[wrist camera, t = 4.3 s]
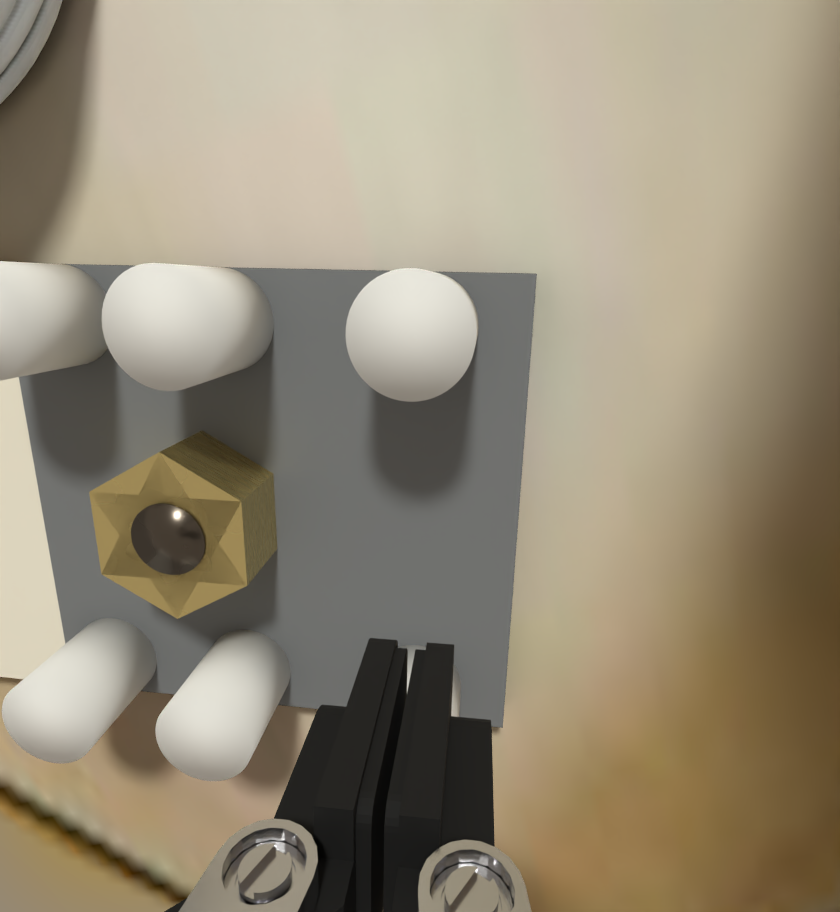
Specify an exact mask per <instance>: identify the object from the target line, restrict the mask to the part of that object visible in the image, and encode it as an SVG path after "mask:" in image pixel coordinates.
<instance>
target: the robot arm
mask: <svg viewBox="0 0 840 912" xmlns="http://www.w3.org/2000/svg"><path fill="white" fill-rule="evenodd" d="M407 662H408V650H407V648H398V641H397V640H391V639H378V638H369V640H368V643H367V646H366V649H365V652H364V655H363V658H362V661H361V664H360V667H359V670H358V673H357V676H356V679H355V682H354V685H353V688H352V691H351V694H350V697H349V700H348V703H347V706H346V707H344V706H333V705H321V706H320V707H319V709H318V711H317V713H316V715H315V718H314V720H313V723H312V725H311V728H310V730H309V733H308V735H307V737H306V740H305V742H304V745H303V747H302V750H301V752H300V755H299V757H298V760H297V762H296V765H295V767H294V770H293V772H292V775H291V777H290V780H289V782H288V785H287V787H286V790H285V792H284V795H283V797H282V800H281V802H280V805H279V807H278V810H277V812H276V815H275V817H274V819H269V820H262V821H258V822H255V823H253V824H251V825H248V826H246V827H244V828H242V829H241V830H239V831H238V832H237V833H235V834H234V835H232V836H231V837H230V838H229V839H228V840H227V841H226V842H225V844H224V845H223V846H222V847H221V848H220V849H219V851H218V852H217V854H216V855H215V857H214V858H213V860H212V861H211V863H210V864H209V866H208V867H207V869H206V871H205V872H204V874H203V875H202V877H201V878H200V880H199V881H198V883H197V884H196V886H195V887H194V889H193V890H192V892H191V894H190V895H189V897H188V898H186V899H185V900H183V901H181V902H180V903H178V904H176V905H175V906H173V907H171V908H170V909H168V910H166V911H165V912H531V908H530V903H529V899H528V895H527V890H526V886H525V884H524V881H523V879H522V876H521V873H520V871H519V870H518V868H517V867H516V866H515V864H514V863H513V862H512V860H511V859H510V858H509V857H508V856H507V855H505V854H504V853H503V852H501V851H500V850H499V849H497V848H496V847H494V810H493V769H492V729H491V720H487V719H476V718H465V717H454V716H451V711H452V688H453V666H454V644H441V643H428V642H427V645H426V650H420V649H416V650H415V654H414V659H413V665H412V670H411V675H410V681H409V686H408V691H407Z"/></svg>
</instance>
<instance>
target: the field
mask: <svg viewBox="0 0 840 912" xmlns="http://www.w3.org/2000/svg"><path fill="white" fill-rule="evenodd" d="M536 276H537V274H524V273H475V272H432V271H428V270H423V269H418V268H401V269H396V270H392V271H376V270H327V269H277V268H228V267H208V266H193V265H179V264H164V263H145V264H140V265H137V266H129V265H80V264H48V263H28V262H8V261H0V677H7V678H17V679H23V680H22V681H21V682H20V683H19V684H17V685H16V686H15V687H14V688H13V689H12V690H10V691H9V692H8V694H7V695H6V697H5V699H4V701H3V705H2V717H3V721H4V724H5V727H6V729H7V731H8V733H9V734H10V736H11V737H12V738H13V740H14V741H15V742H16V743H17V744H18V745H19V746H20V747H21V748H22V749H24V750H25V751H26V752H28V753H29V754H31V755H33V756H35V757H37V758H39V759H41V760H44V761H48V762H52V763H70V762H74V761H77V760H79V759H80V758H82V757H83V756H85V755H86V754H87V753H88V751H89V750H90V749H91V748H92V747H93V746H94V745H95V743H96V742H97V741H98V740H99V739H100V738H101V736H102V735H103V734H104V733H105V732H106V731H107V729H108V728H109V727H110V726H111V725H112V724H113V722H114V721H115V720H116V719H117V718H118V717H119V715H120V714H121V713H122V712H123V711H124V710H125V709H126V707H127V706H128V705H129V704H130V703H131V702H132V700H133V699H134V698H135V697H136V696H137V695H138V693H139V692H140V691H146V692H155V693H165V694H175V695H174V696H173V698H172V699H171V700H170V702H169V703H168V704H167V705H166V707H165V708H164V709H163V711H162V712H161V714H160V715H159V717H158V719H157V723H156V729H155V732H156V739H157V743H158V746H159V748H160V750H161V752H162V753H163V755H164V756H165V757H166V759H167V760H168V761H169V762H170V763H171V764H172V765H173V766H174V767H176V768H177V769H178V770H180V771H181V772H183V773H185V774H187V775H189V776H191V777H194V778H197V779H200V780H206V781H222V780H227V779H230V778H232V777H234V776H236V775H238V774H239V773H241V772H242V771H243V770H244V769H245V767H246V766H247V765H248V763H249V761H250V759H251V757H252V755H253V753H254V751H255V749H256V747H257V745H258V743H259V741H260V739H261V737H262V735H263V733H264V731H265V729H266V727H267V725H268V723H269V721H270V719H271V717H272V715H273V713H274V711H275V709H276V708H277V706H278V705H284V706H294V707H304V708H314V709H319V707H320V706H321V705H333V706H344V707H346V706H347V703H348V700H349V697H350V694H351V691H352V688H353V685H354V682H355V679H356V676H357V673H358V670H359V667H360V664H361V661H362V658H363V655H364V652H365V649H366V646H367V643H368V640H369V638H378V639H391V640H397V641H398V648H407V650H408V662H407V691H408V686H409V681H410V675H411V670H412V665H413V659H414V654H415V650H416V649H420V650H426V645H427V642H428V643H441V644H454V666H453V688H452V711H451V716H454V717H465V718H476V719H487V720H491V726H492V727H501V728H503V716H504V702H505V689H506V676H507V662H508V649H509V636H510V622H511V609H512V596H513V582H514V569H515V556H516V542H517V529H518V516H519V503H520V489H521V476H522V463H523V449H524V436H525V423H526V409H527V396H528V383H529V369H530V356H531V343H532V329H533V316H534V303H535V289H536ZM200 431H204V432H206V433H207V434H209V435H211V436H212V437H214V438H216V439H217V440H219V441H221V442H222V443H224V444H226V445H227V446H229V447H230V448H232V449H234V450H235V451H237V452H239V453H240V454H242V455H244V456H245V457H247V458H249V459H250V460H252V461H254V462H255V463H257V464H258V465H260V466H262V467H263V468H265V469H267V470H268V471H270V472H272V473H273V474H274V493H275V512H276V531H277V550H276V551H275V552H274V553H273V555H272V556H271V557H270V558H269V559H268V561H267V562H266V563H265V564H264V566H263V567H262V568H261V569H260V571H259V572H258V573H257V574H256V576H255V577H254V578H253V579H252V581H251V582H250V583H249V584H248V585H247V586H246V587H244V588H242V589H239V590H237V591H235V592H233V593H231V594H229V595H227V596H225V597H223V598H220V599H218V600H216V601H214V602H212V603H210V604H208V605H206V606H204V607H202V608H199V609H197V610H195V611H193V612H191V613H189V614H187V615H185V616H183V617H181V618H178V619H177V618H175V617H173V616H172V615H170V614H168V613H167V612H165V611H163V610H162V609H160V608H158V607H156V606H155V605H153V604H151V603H150V602H148V601H146V600H144V599H143V598H141V597H139V596H138V595H136V594H134V593H133V592H131V591H129V590H127V589H126V588H124V587H122V586H121V585H119V584H117V583H115V582H114V581H112V580H110V579H109V578H107V577H105V576H104V575H102V574H101V569H100V562H99V555H98V548H97V542H96V535H95V528H94V522H93V515H92V508H91V501H90V495H89V492H90V491H91V490H93V489H95V488H97V487H98V486H100V485H102V484H104V483H106V482H107V481H109V480H111V479H113V478H114V477H116V476H118V475H120V474H121V473H123V472H125V471H127V470H128V469H130V468H132V467H134V466H136V465H137V464H139V463H141V462H143V461H144V460H146V459H148V458H150V457H151V456H153V455H155V454H157V453H158V452H160V451H162V450H164V449H166V448H168V447H170V446H172V445H174V444H176V443H178V442H180V441H182V440H184V439H186V438H188V437H190V436H192V435H194V434H196V433H198V432H200Z"/></svg>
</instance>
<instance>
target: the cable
mask: <svg viewBox="0 0 840 912" xmlns="http://www.w3.org/2000/svg"><path fill="white" fill-rule="evenodd" d="M61 3H62V0H0V104H1V103H2V102H3V101H4V100H5V99H6V98H7V97H8V96H9V95H10V94H11V93H12V91H13V90H14V89H15V88H16V87H17V85H18V84H19V83H20V82H21V81H22V79H23V78H24V77H25V76H26V74H27V73H28V71H29V70H30V68H31V67H32V66H33V64H34V63H35V61H36V59H37V57H38V56H39V54H40V52H41V50H42V49H43V47H44V45H45V43H46V41H47V39H48V37H49V35H50V33H51V30H52V28H53V26H54V24H55V21H56V19H57V16H58V13H59V10H60V7H61Z"/></svg>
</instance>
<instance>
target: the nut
mask: <svg viewBox="0 0 840 912" xmlns="http://www.w3.org/2000/svg"><path fill="white" fill-rule="evenodd" d="M89 495H90V501H91V508H92V515H93V522H94V528H95V535H96V542H97V548H98V555H99V562H100V569H101V574H102V575H104V576H105V577H107V578H109V579H110V580H112V581H114V582H115V583H117V584H119V585H121V586H122V587H124V588H126V589H127V590H129V591H131V592H133V593H134V594H136V595H138V596H139V597H141V598H143V599H144V600H146V601H148V602H150V603H151V604H153V605H155V606H156V607H158V608H160V609H162V610H163V611H165V612H167V613H168V614H170V615H172V616H173V617H175V618H177V619H178V618H181V617H183V616H185V615H187V614H189V613H191V612H193V611H195V610H197V609H199V608H202V607H204V606H206V605H208V604H210V603H212V602H214V601H216V600H218V599H220V598H223V597H225V596H227V595H229V594H231V593H233V592H235V591H237V590H239V589H242V588H244V587H246V586H247V585H248V584H249V583H250V582H251V581H252V579H253V578H254V577H255V576H256V574H257V573H258V572H259V571H260V569H261V568H262V567H263V566H264V564H265V563H266V562H267V561H268V559H269V558H270V557H271V556H272V555H273V553H274V552H275V551H276V550H277V531H276V512H275V493H274V474H273V473H272V472H270V471H268V470H267V469H265V468H263V467H262V466H260V465H258V464H257V463H255V462H254V461H252V460H250V459H249V458H247V457H245V456H244V455H242V454H240V453H239V452H237V451H235V450H234V449H232V448H230V447H229V446H227V445H226V444H224V443H222V442H221V441H219V440H217V439H216V438H214V437H212V436H211V435H209V434H207V433H206V432H204V431H200V432H198V433H196V434H194V435H192V436H190V437H188V438H186V439H184V440H182V441H180V442H178V443H176V444H174V445H172V446H170V447H168V448H166V449H164V450H162V451H160V452H158V453H157V454H155V455H153V456H151V457H150V458H148V459H146V460H144V461H143V462H141V463H139V464H137V465H136V466H134V467H132V468H130V469H128V470H127V471H125V472H123V473H121V474H120V475H118V476H116V477H114V478H113V479H111V480H109V481H107V482H106V483H104V484H102V485H100V486H98V487H97V488H95V489H93V490H91V491H90V492H89Z"/></svg>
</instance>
